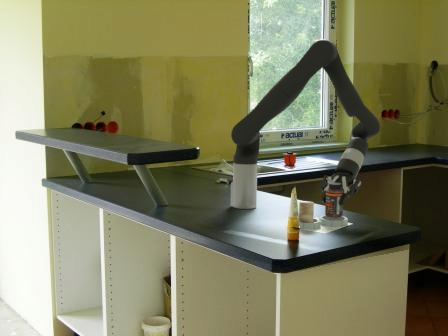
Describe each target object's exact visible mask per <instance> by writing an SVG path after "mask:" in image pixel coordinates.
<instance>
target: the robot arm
mask: <svg viewBox="0 0 448 336" xmlns="http://www.w3.org/2000/svg"><path fill="white" fill-rule="evenodd" d="M321 69H323V70H324V72H325V73H326V74H327V76H328V77H329V79H330V82H331V83H332V86H333V88H334V90H335V93H336V96H337V98H338V100H339V103H340V104H341V107H342V108H343V110H344V111H345V112H344V113H345V114H346V115H347V116H348V117H349V118H356V119H357V120H358V122H357V123H355V124H354V125H353V128H352V129H351V132H350V137H349V142H348V143H347V146H346V148H345V150H344V152H343V153H342V154H341V157H340V159H339V161H338V163H337V165H336V167H335V170H334V173H333V174H332V175H331V176H328V175H327V174H325V175H324V176H323V177H322V181H321V185H320V187H319V188H320V190H321V192H322V193H323V194H322V195H321V197H320V199H321V202H322V204H325V203H326V190H327V189H328V188H329V183H333V182H335V183H341V189H342V190H343V192H344V194H342V196H341V198H340V200H339V204H340V206H343V207H344V205H345V204H346V202H347V200H348V198H349V197H355V195H357V192H358V191H359V189H360V188H361V186H362V182H361V180H360V178H357V177H358V174H359V172H360V170H361V168H362V166H363V162H364V159H365V156H366V154H367V153H368V150H369V143H368V140H369V139H371V138H373V137H375V136H377V135H378V134H379V133H380V131H381V124H380V121H379V119H378V118H377V116H376V115H375V114H374V113H373V112H372V111H371V110H370V109H369V108H368V107H367V106H366V105H365V104H364V103H365V102H364V101H363V99H362V98H361V96H360V95H359V93H358V90H357V89H356V87H355V85H354V84H353V82H352V81H351V78H350V77H349V76H348V75H349V74H348V73H347V71H346V69H345V66H344V65H343V62H342V59H341V57H340V53H339V51H338V47H337V45H336V44H335V43H334V42H333V41H331V40H329V39H324V38H322V39H318V40H315V42H313V43H312V44H311V46H310V47H309V48H308V49H307V50H306V52H305V54H304V55H303V56H302V57H301V58H300V60H299V61H298V62H297V63H296V64H295V65H293V67H292V68H291V69H290V70H288V71H287V73H285V74H284V75H283V76H282V77H281V78H280V79H279V80H278V81H277V82H276V83H275V84H274V85H273V86H272V87H271V88H270V89H269V91H268V92H267V93H266V94H265V95H264V96H263V98H261V100H259V102H258V103H257V105H255V107H254V108H253V109H252V110H251V111H250V112H249V113H247V115H245V116H244V117H243V118H242V119H241V120H240V121H238V122H237V123H236V124H235V125H234V126H233V127H232V129H231V135H230V136H231V140H232V142H233V143H234V144H235V145H236V147H235V149H236V150H235V153H234V155H233V159H232V161H233V162H232V164H233V170H232V173H233V175H232V181H231V182H230V207H232V208H234V209H241V210H247V209H248V210H249V209H255V208H257V198H258V197H257V196H258V195H257V193H258V192H257V191H258V158H259V154H260V142H261V141H260V139H261V138H260V137H261V134H260V131H261V130H262V129H263V128H264V127H265V126H266V125H267V124H268V123H269V122H270V121H272V120H273V119H275V118H276V117H278V115H280V114H281V113H283V112H284V111H286V109H287V108H288V107H290V105H292V104H293V102H295V101H296V99H297V98H298V97H299V96H300V95H301V93H302V91H303V90H304V89H305V87H306V86H307V84H308V82H309V81H310V80H311V79H312V78H313V77H314V76H315V75H316V74H317V73H318V72H319V71H320V70H321ZM356 178H357V179H356Z"/></svg>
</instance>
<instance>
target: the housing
mask: <svg viewBox="0 0 448 336" xmlns="http://www.w3.org/2000/svg"><path fill="white" fill-rule="evenodd" d="M351 225H354V224H353V223H351V222H349V219H348V217H346V216H345V215H344V216H342V217H339V218H338V217H337V218H332V217H327V216H326V215H325V214H324V215H321V216H318V217H314V216H313V223H302V222H299V226H300V229H299V230H304V231H309V232H315V233H321V234H328V233H331V232H333V231H337V230H339V229H342V228H345V227H348V226H351ZM287 226H288V225H285V227H286V228H288V227H287Z"/></svg>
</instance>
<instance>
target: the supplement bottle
mask: <svg viewBox="0 0 448 336" xmlns="http://www.w3.org/2000/svg"><path fill="white" fill-rule="evenodd" d="M328 184H329V188H328V189H327V190H326V203H324V205H325V209H324V210H325V212H324V215H326V216H327V217H332V218H337V217H338V218H339V217H342V216H343V214H344V205H343V206H340V204H339V200H340V198H341V196H342V194H344V191H343V189H341V183H335V182H333V183H328Z"/></svg>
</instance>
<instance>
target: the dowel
mask: <svg viewBox="0 0 448 336" xmlns="http://www.w3.org/2000/svg"><path fill="white" fill-rule="evenodd" d="M314 208H315V204H314V202H313V201H308V200H304V201H303V200H302V201H299V202H298V217H299V222H302V223H313V218H314V210H315V209H314Z"/></svg>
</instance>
